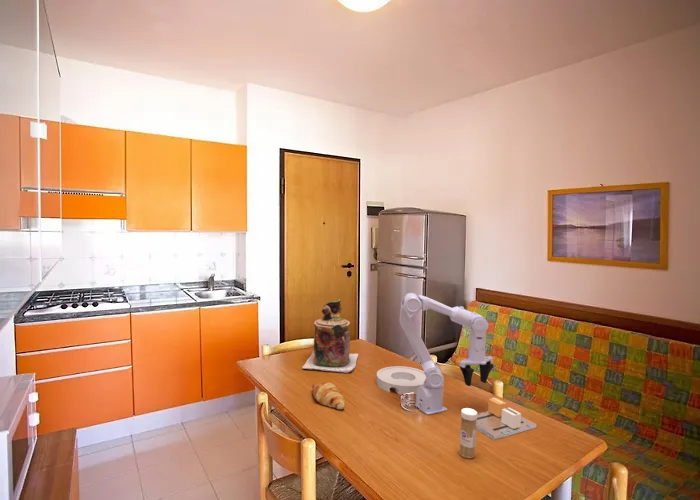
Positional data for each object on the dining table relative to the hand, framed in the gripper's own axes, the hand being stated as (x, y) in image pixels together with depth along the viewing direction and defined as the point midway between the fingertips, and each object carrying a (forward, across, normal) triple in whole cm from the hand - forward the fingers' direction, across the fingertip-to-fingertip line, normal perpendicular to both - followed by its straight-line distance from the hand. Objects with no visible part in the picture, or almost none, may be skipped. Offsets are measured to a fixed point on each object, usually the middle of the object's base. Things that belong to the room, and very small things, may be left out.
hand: (475, 383), depth 145 cm
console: (+10, +1, -11) cm, 15 cm away
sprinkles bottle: (+11, -23, -21) cm, 33 cm away
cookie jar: (+10, -29, +67) cm, 74 cm away
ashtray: (+11, -10, +32) cm, 35 cm away
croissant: (+11, -47, +29) cm, 56 cm away
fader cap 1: (+9, +4, -7) cm, 12 cm away
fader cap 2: (+9, +2, -15) cm, 17 cm away
